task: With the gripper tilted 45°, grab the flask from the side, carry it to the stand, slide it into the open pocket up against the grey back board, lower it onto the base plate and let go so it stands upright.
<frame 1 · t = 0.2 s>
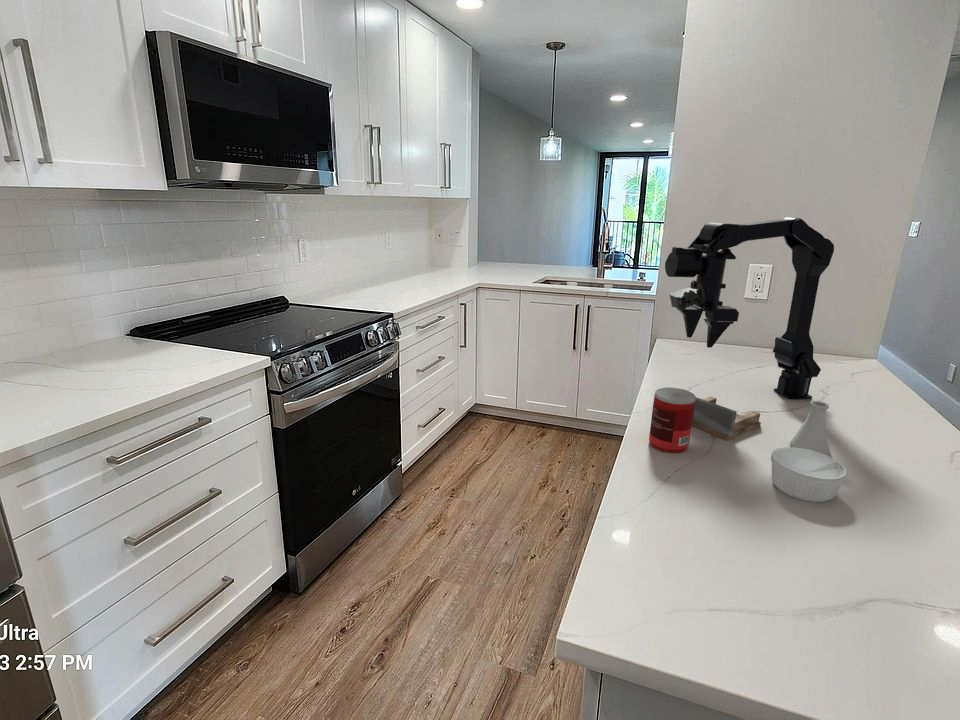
hand: (698, 342, 129), 14 cm above the countertop, tool pointing down, fingers open, 9 cm apart
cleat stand: (716, 422, 119), on the countertop
canned food: (667, 445, 108), on the countertop
ramekin: (801, 489, 93), on the countertop
flask: (809, 450, 107), on the countertop
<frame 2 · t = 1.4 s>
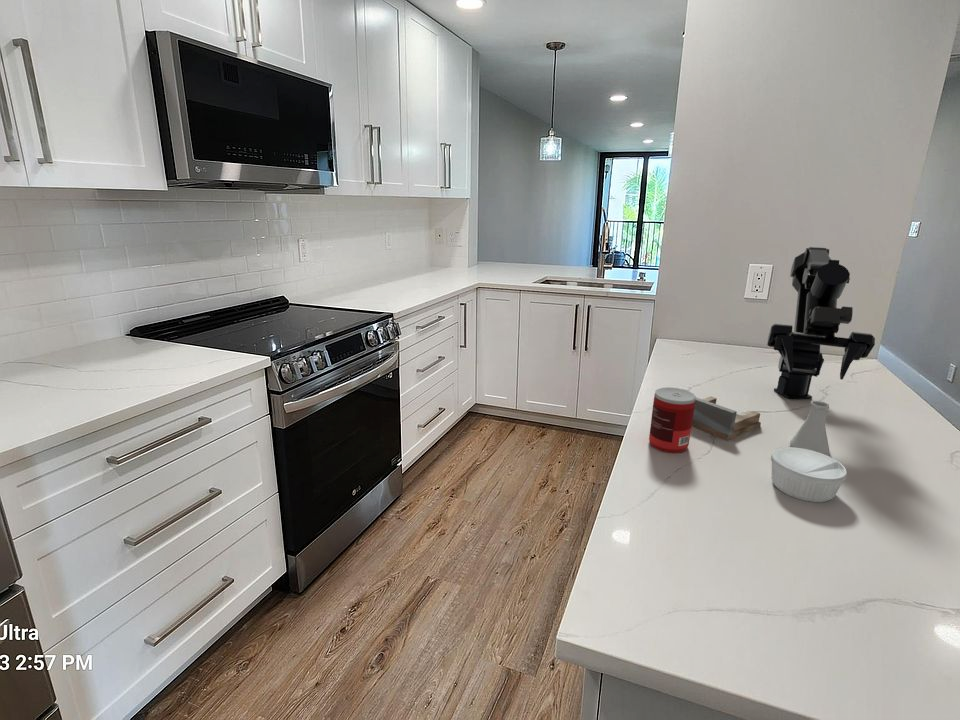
hand: (815, 375, 110), 13 cm above the countertop, tool tilted 45°, fingers open, 9 cm apart
nothing on the countertop moved.
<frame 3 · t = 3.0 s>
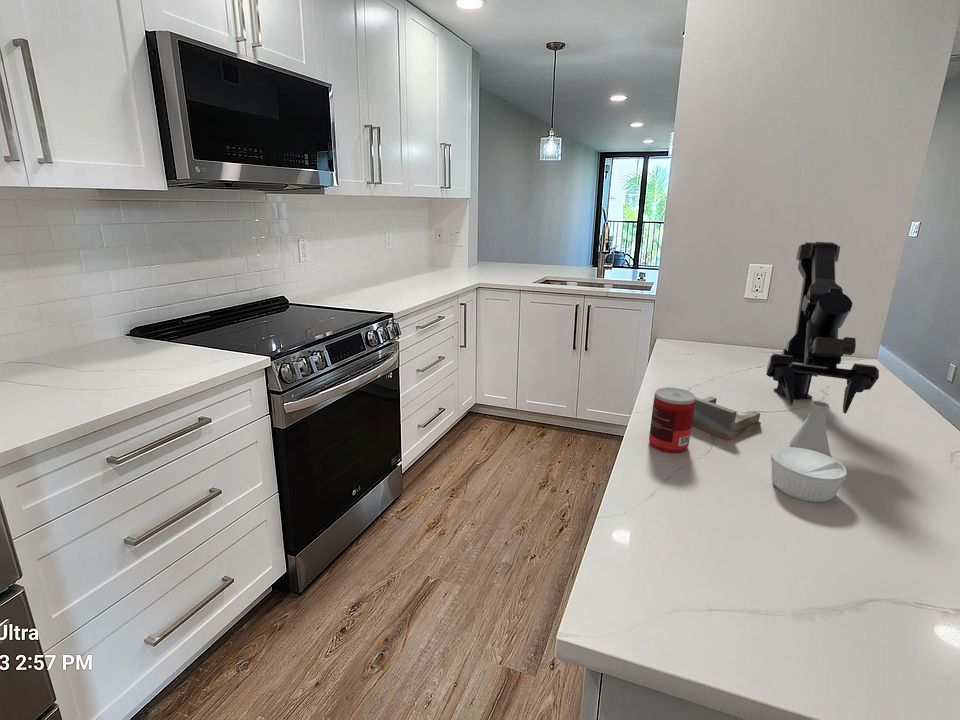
hand: (817, 408, 106), 9 cm above the countertop, tool tilted 45°, fingers open, 9 cm apart
nothing on the countertop moved.
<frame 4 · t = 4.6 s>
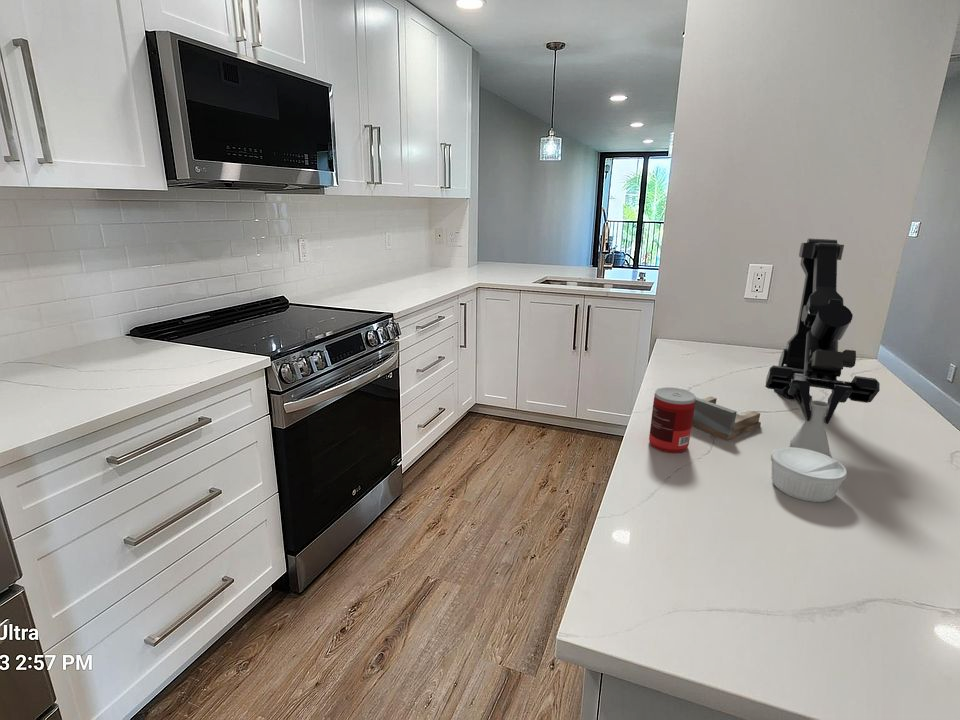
hand: (817, 421, 104), 7 cm above the countertop, tool tilted 45°, fingers closed on flask, 3 cm apart
flask: (809, 450, 107), on the countertop, touching gripper
everything else where it was.
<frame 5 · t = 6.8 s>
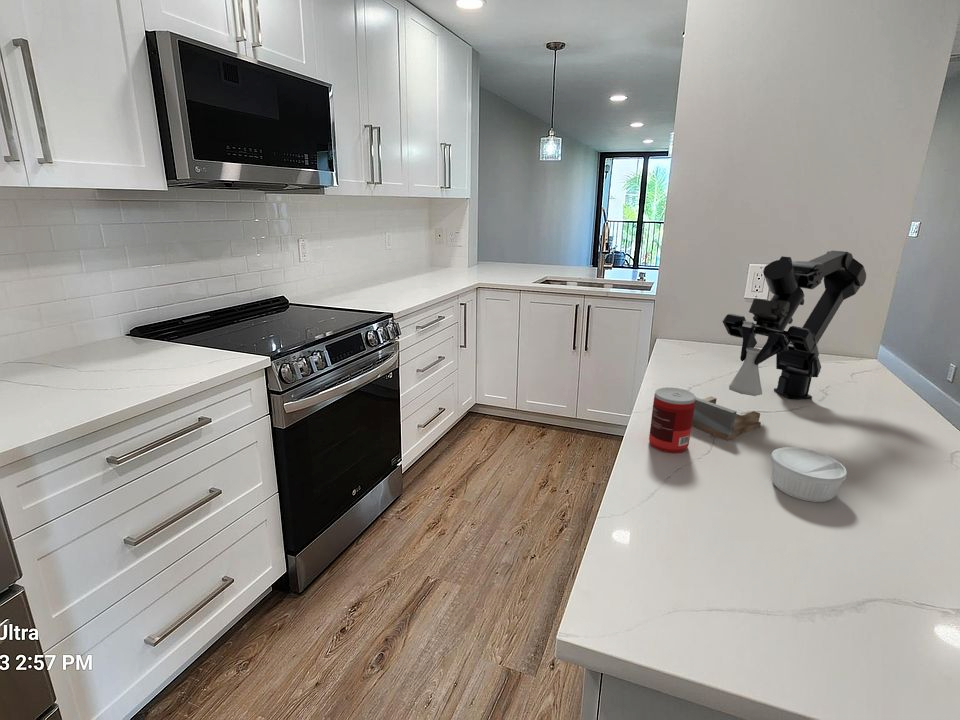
hand: (748, 361, 119), 13 cm above the countertop, tool tilted 45°, fingers closed on flask, 3 cm apart
flask: (744, 391, 122), point 6 cm above the countertop, touching gripper
everything else where it was.
when the fingers open (9 cm above the countertop, at t = 9.5 s): flask stays where it is, resting on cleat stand.
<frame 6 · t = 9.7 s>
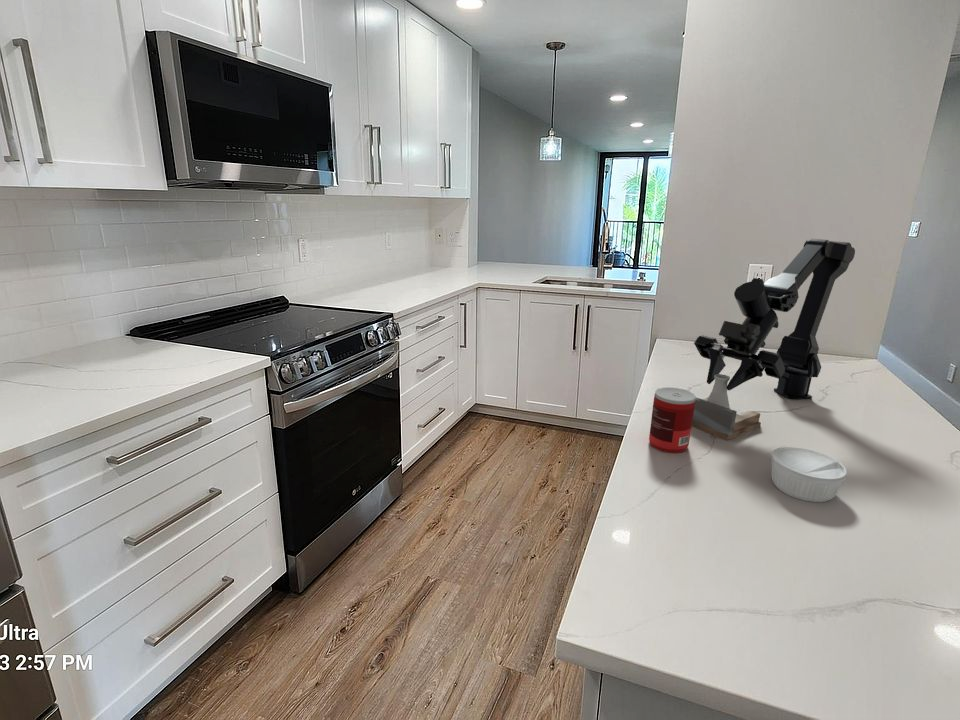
hand: (717, 386, 115), 9 cm above the countertop, tool tilted 45°, fingers open, 4 cm apart
flask: (714, 419, 119), point 1 cm above the countertop, touching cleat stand
everything else where it was.
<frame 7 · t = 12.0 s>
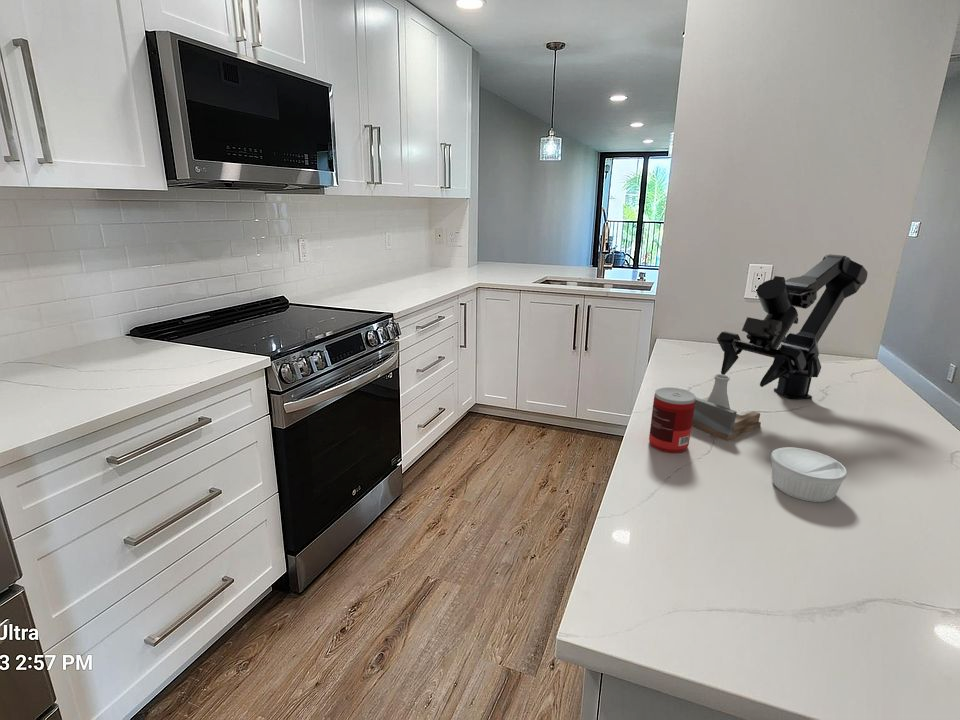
hand: (740, 379, 121), 9 cm above the countertop, tool tilted 45°, fingers open, 9 cm apart
nothing on the countertop moved.
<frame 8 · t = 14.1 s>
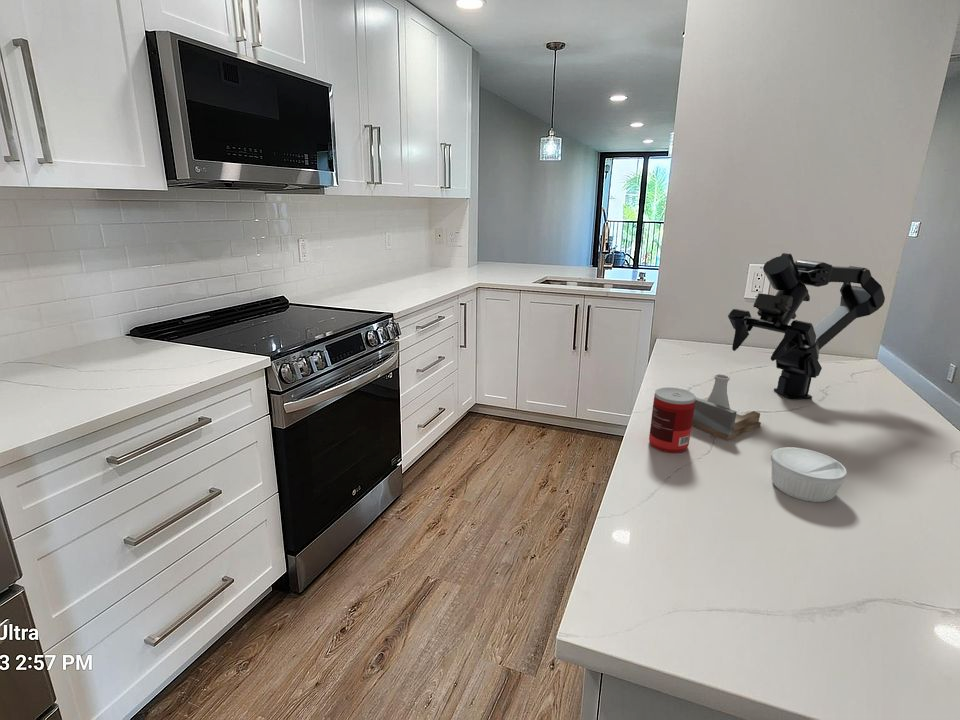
hand: (751, 354, 123), 14 cm above the countertop, tool tilted 45°, fingers open, 9 cm apart
nothing on the countertop moved.
at the end: flask inside the target area on the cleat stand (0.3 cm from its centre), point 0.8 cm above the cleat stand's base; flask tilted 0°; the gripper is holding nothing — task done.
